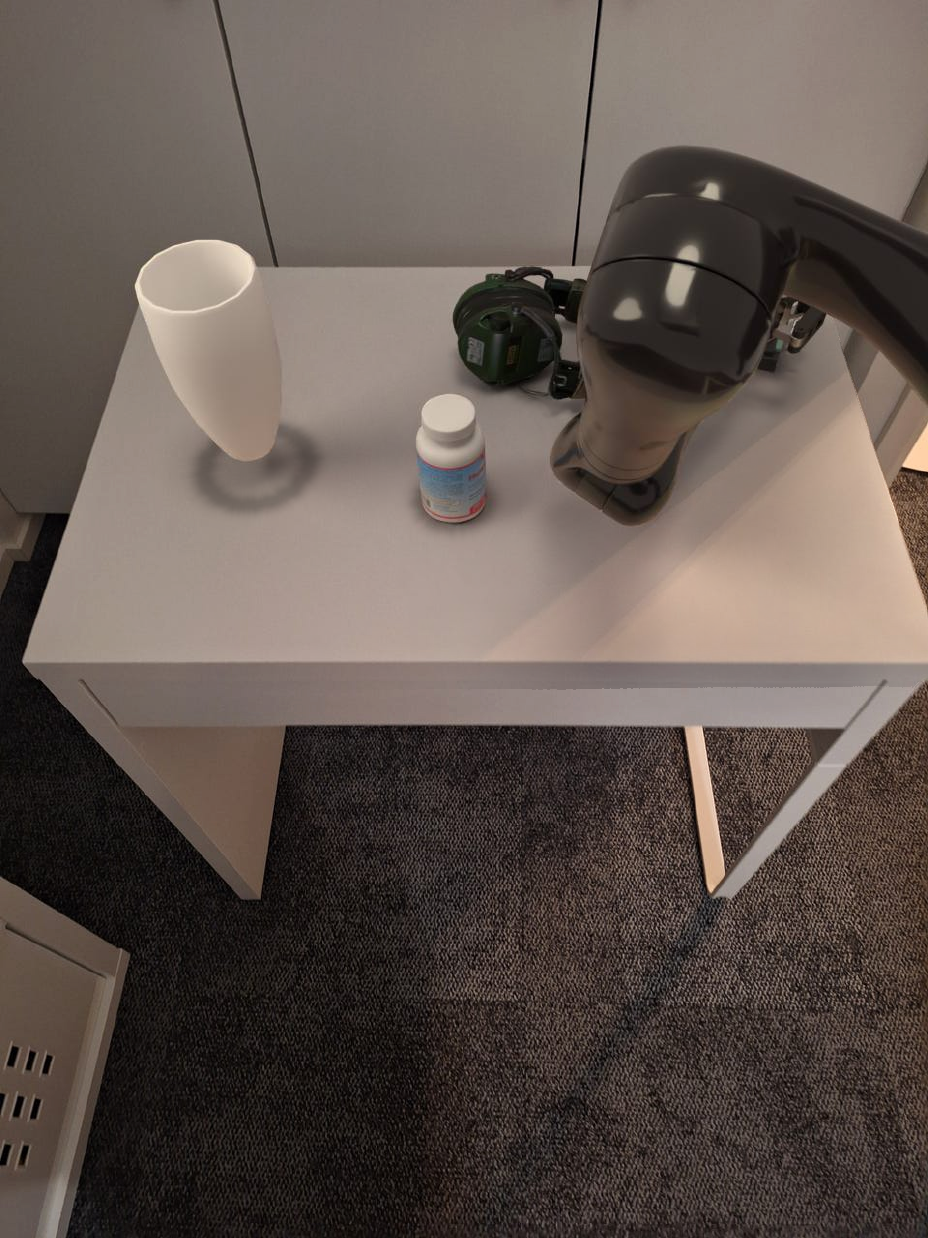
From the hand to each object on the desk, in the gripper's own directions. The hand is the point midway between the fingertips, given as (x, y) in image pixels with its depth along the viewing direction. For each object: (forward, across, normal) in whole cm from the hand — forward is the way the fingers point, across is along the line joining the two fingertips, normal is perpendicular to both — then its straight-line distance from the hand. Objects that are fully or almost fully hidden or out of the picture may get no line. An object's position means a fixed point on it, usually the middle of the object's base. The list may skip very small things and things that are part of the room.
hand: (777, 260), depth 90 cm
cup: (-43, +33, +9) cm, 55 cm away
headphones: (-16, +16, +9) cm, 24 cm away
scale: (-2, 0, +9) cm, 9 cm away
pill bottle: (-37, +14, +9) cm, 40 cm away
